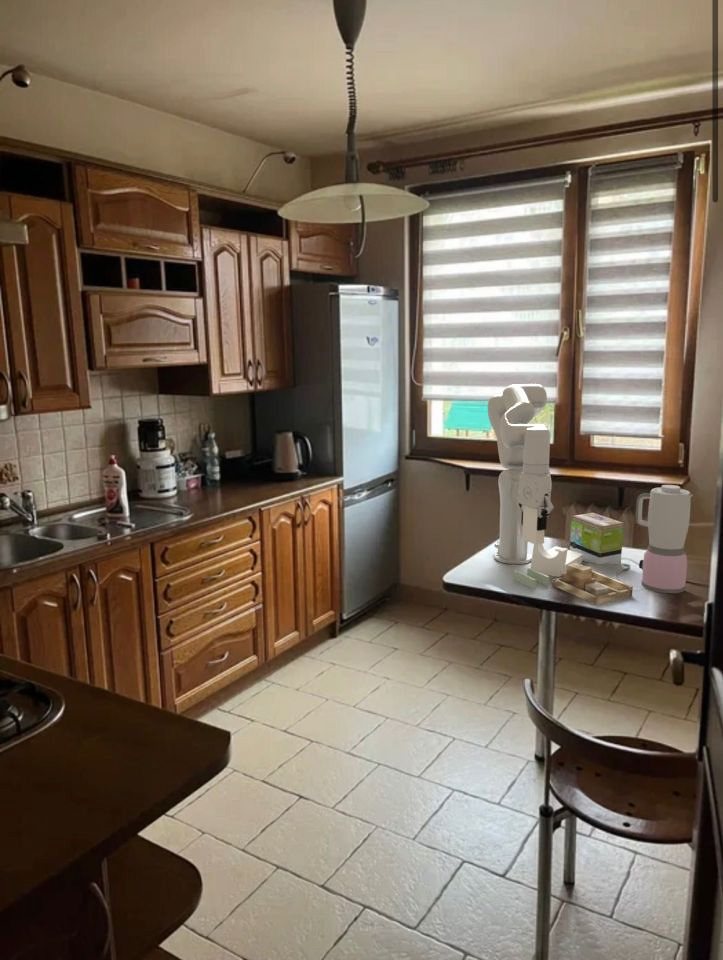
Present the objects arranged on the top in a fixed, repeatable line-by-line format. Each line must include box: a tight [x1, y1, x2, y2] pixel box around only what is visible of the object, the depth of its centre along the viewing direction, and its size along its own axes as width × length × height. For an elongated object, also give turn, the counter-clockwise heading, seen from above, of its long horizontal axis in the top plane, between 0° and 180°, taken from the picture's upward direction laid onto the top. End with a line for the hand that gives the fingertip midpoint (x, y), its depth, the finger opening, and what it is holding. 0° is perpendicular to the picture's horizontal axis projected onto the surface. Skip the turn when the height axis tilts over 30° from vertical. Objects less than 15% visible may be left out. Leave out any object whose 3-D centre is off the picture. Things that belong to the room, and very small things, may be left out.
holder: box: [513, 567, 550, 590], centre depth 219 cm, size 10×8×4 cm
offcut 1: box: [566, 563, 593, 580], centre depth 213 cm, size 6×4×3 cm, turn 35°
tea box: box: [569, 512, 624, 566], centre depth 243 cm, size 15×10×15 cm, turn 25°
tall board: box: [522, 504, 545, 545], centre depth 215 cm, size 6×3×15 cm, turn 27°
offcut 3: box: [585, 583, 608, 596], centre depth 206 cm, size 5×4×4 cm
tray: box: [552, 570, 634, 605], centre depth 212 cm, size 18×14×4 cm
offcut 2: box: [561, 572, 595, 591], centre depth 213 cm, size 9×4×4 cm, turn 27°
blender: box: [635, 484, 694, 594], centre depth 213 cm, size 16×12×32 cm
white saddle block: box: [530, 543, 583, 578], centre depth 233 cm, size 18×10×10 cm, turn 141°
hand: (533, 526), depth 216 cm, fingers closed on tall board, 6 cm apart
